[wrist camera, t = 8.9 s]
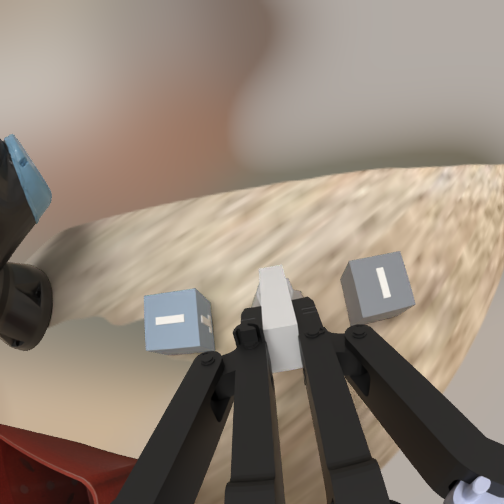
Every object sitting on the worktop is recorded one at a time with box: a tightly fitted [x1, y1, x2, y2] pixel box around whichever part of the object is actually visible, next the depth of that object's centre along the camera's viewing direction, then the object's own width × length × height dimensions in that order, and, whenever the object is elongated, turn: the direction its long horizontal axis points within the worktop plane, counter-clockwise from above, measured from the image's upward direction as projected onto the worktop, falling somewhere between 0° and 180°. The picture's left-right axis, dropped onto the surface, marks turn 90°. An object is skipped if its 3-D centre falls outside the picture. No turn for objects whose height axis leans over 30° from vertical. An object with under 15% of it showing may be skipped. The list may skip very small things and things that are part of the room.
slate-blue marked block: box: [144, 288, 215, 355], centre depth 31 cm, size 6×6×6 cm
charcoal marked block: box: [340, 251, 415, 326], centre depth 29 cm, size 6×6×6 cm
